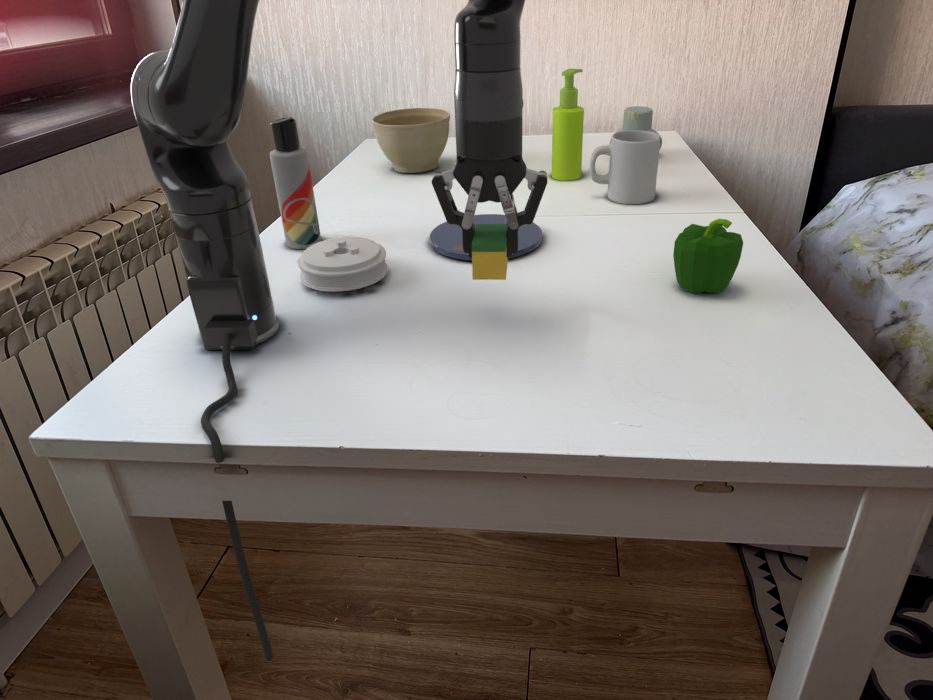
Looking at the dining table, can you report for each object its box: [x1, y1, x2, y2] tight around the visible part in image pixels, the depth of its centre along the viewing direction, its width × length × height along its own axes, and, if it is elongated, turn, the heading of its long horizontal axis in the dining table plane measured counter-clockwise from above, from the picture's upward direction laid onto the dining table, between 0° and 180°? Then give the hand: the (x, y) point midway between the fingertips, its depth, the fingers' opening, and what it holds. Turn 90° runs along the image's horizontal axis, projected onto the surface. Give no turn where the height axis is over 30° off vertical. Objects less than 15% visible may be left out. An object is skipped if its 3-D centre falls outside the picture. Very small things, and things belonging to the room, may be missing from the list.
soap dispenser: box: [551, 68, 585, 182], centre depth 135 cm, size 6×7×20 cm
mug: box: [589, 130, 661, 205], centre depth 125 cm, size 12×8×11 cm
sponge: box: [471, 224, 509, 281], centre depth 85 cm, size 7×4×4 cm, turn 175°
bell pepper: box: [672, 218, 744, 294], centre depth 92 cm, size 8×8×10 cm
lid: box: [297, 236, 389, 293], centre depth 100 cm, size 13×13×5 cm
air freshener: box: [609, 105, 663, 151], centre depth 147 cm, size 11×8×10 cm
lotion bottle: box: [269, 116, 322, 250], centre depth 109 cm, size 6×6×20 cm
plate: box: [429, 213, 543, 262], centre depth 112 cm, size 18×18×1 cm
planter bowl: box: [371, 107, 451, 174], centre depth 147 cm, size 16×16×11 cm
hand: (491, 254), depth 86 cm, fingers closed on sponge, 4 cm apart
